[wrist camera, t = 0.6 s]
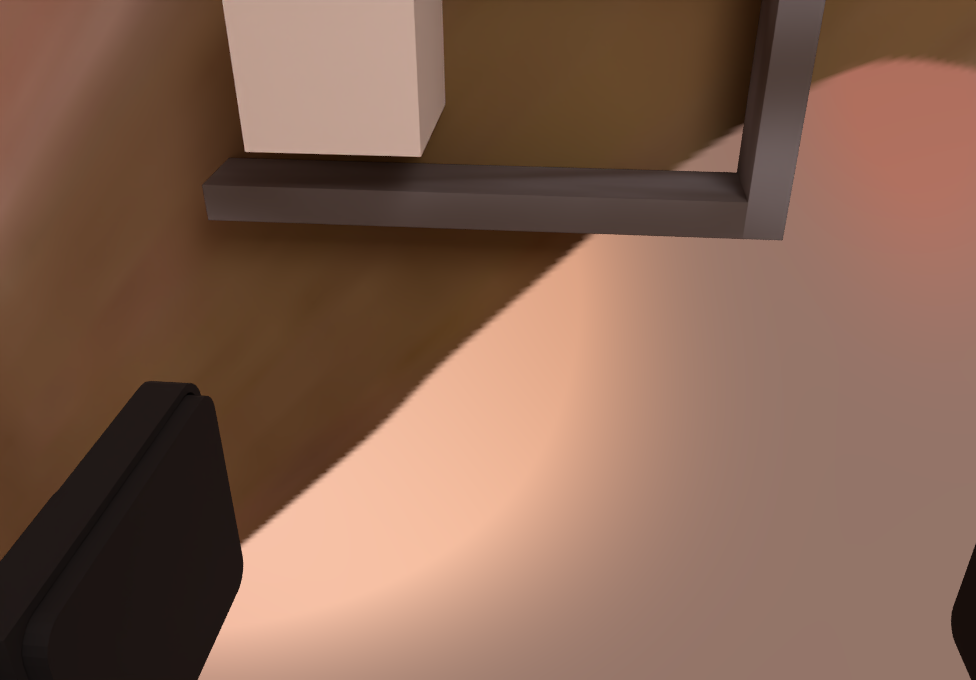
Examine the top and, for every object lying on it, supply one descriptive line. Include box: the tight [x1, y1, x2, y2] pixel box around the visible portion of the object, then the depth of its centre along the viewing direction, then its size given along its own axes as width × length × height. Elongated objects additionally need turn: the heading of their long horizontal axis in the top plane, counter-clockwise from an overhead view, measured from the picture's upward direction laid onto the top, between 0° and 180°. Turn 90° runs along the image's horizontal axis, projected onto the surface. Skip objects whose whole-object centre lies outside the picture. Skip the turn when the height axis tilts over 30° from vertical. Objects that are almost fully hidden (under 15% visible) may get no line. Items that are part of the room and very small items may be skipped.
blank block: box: [222, 0, 445, 157], centre depth 26 cm, size 5×5×5 cm
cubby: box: [202, 0, 826, 240], centre depth 27 cm, size 11×18×2 cm, turn 90°
